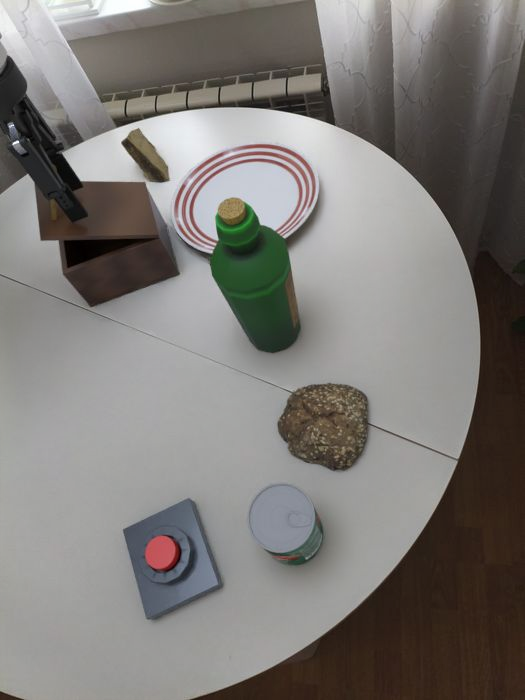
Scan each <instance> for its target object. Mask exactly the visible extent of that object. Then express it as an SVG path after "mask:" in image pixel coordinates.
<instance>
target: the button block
mask: <svg viewBox="0 0 525 700" xmlns="http://www.w3.org/2000/svg"><path fill="white" fill-rule="evenodd" d="M122 532H123V536H124V540H125V544H126V547H127V552H128V554H129V559H130V563H131V566H132V570H133V574H134V578H135V581H136V585H137V588H138V592H139V597H140V600H141V604H142V608H143V612H144V615H145V619H146V620H149V621H155V620H156V619H158V618H161V617H163V616H165V615H167V614H169V613H171V612H173V611H175V610H177V609H179V608H182V607H183V606H186V605H188V604H190V603H192V602H194V601H197V600H198V599H200V598H203V597H205V596H206V595H209V594H210V593H212V592H215V591H216V590H219V589H221V588H223V587H224V584H223V581H222V579H221V575H220V573H219V569H218V566H217V564H216V561H215V559H214V555H213V553H212V552H213V551H212V549H211V546H210V543H209V540H208V538H207V535H206V532H205V529H204V526H203V523H202V520H201V517H200V514H199V512H198V508H197V506H196V503H195V501H194V500H193V499H191V498H190V497H188V498H186V499H184V500H182V501H180V502H178V503H175V504H173V505H171V506H169V507H167V508H165V509H163V510H161V511H159V512H157V513H154V514H152V515H150V516H148V517H146V518H144V519H142V520H140V521H137V522H135V523H133V524H131V525H129V526H127V527H125V528H122ZM157 536H167V537H169V538H171V539H173V540H174V541H176V543H177V544H178V546H179V549H180V556H179V559H178V561H177V563H176V564H175V566H173V567H172V568H171V569H169V570H166V571H161V570H158V569H155V568H152V567H151V566H150V565H149V564H148V563H147V561H146V557H145V551H146V548H147V545H148V544H149V542H150V541H151V540H152V539H153V538H155V537H157Z"/></svg>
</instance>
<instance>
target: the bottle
mask: <svg viewBox="0 0 525 700" xmlns="http://www.w3.org/2000/svg"><path fill="white" fill-rule="evenodd" d="M215 221H216V230H217V235H218V239H219V240H218V242H217V244H216V246H215V248H214V251H213V253H212V254H210V257H209V261H208V262H209V266H210V270H211V271H210V272H211V276H212V278H213V280H214V282H215V284H216V285H217V287H218V289H219V291H220V293H221V294H222V296H223V297H224V300H225V301H226V302H227V305H228V306H229V308H230V309H231V312H232V313H233V315H234V317H235V318H236V320H237V322H238V324H239V325H240V327H241V329H242V330H243V333H244V334H245V336H246V337H247V339H248V341H249V342H250V343H251V344H252V345H253V346H254V347H255V348H256V349H258V350H259V351H263V352H268V353H275V352H279V351H282V350H286V349H287V348H288V347H290V346H291V345H292V344H293V343H294V342H295V341H296V340H297V339H298V336H299V333H300V330H301V320H300V315H299V314H300V313H299V308H298V307H299V306H298V302H297V295H296V290H295V289H296V288H295V283H294V277H293V271H292V264H291V258H290V253H289V249H288V246H287V242H286V238H283V237H282V236H281V235H279V234H278V233H277V232H276V231H274V230H273V229H272V228H270V227H267V226H265V225H260V222H259V218H258V216H257V215H256V213H255V212H254V210H253V209H252V207H251V206H250V205H248V204H247V203H246V202H244V201H242V200H241V199H240V198H234V197H232V198H229V199H225V200H224V201H223V202H222V203H220V205H219V207H218V212H217V214H216V216H215Z"/></svg>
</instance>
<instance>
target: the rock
mask: <svg viewBox="0 0 525 700" xmlns="http://www.w3.org/2000/svg"><path fill="white" fill-rule="evenodd" d="M120 145H122V147H123V148H124V150H125V151H126V152H127V154H128V155H129V156H130V157H131V158H132V159H133V161H134V162H135V164H136V165H138V167H139V168H140V170H141V171H142V173H143V174H144V176H145V177H146V178H147V179H148V181H150V182H159V183H161V182H162V183H163V182H167V181H168V182H169V181H170V179H171V178H170V177H169V170H168V165H167V163H166V162H165V160H164V159H163V157H161V155H160V154H159V153H158V152H157V150H156V147H155V145H153V143H152V142H151V141H149V139H148V138H147V137H146V136H145V134H144V133H143V132H142V130H141V128H139V127H138V128H135V129H132V130H131V131H129V133H128V135H127V136H126V137H125V138H124V139H122V140H121V142H120Z"/></svg>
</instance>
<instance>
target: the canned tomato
mask: <svg viewBox="0 0 525 700" xmlns="http://www.w3.org/2000/svg"><path fill="white" fill-rule="evenodd" d="M246 516H247V517H246V521H247V529H248V531H249V534H250V536H251V537H252V539H253V540H254V542H255V543H256V544H257V545H258V546H260V548H261V549H263V550H264V551H265V552H267V553H268V554H269V555H270V556H271V557H272V559H274V560H275V561H277V562H278V563H280V564H282V565H284V566H288V567H300V566H304V565H306V564H308V563H310V562H312V561H313V560H314V559H315V558H316V557H317V556H318V555H319V553H320V552H321V550H322V549H323V545H324V540H325V528H324V525H323V522H322V520H321V518H320V516H319V515H318V512H317V510H316V508H315V506H314V503H313V501H312V499H311V498H310V496H309V494H308V493H307V492H306V491H305V490H304V489H302V488H301V487H299V486H297V485H296V484H293V483H289V482H275V483H270V484H269V485H267V486H264V487H263V488H261V489H260V490H259V491H258V492H257V493H256V494H255V495H254V497H253V498H252V500H251V501H250V504H249V506H248V509H247V515H246Z"/></svg>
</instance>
